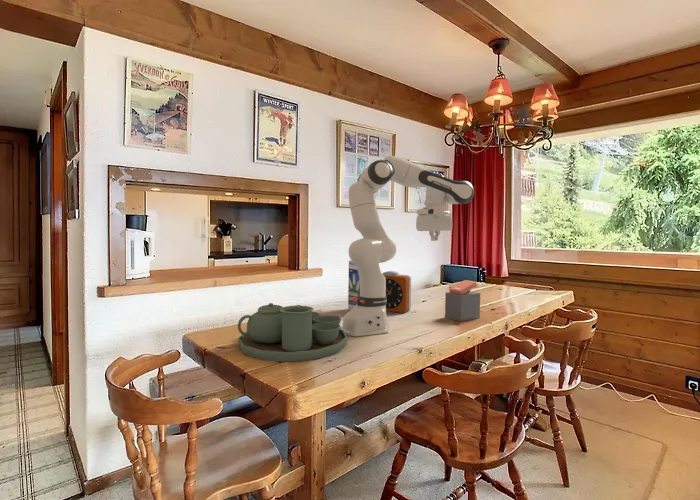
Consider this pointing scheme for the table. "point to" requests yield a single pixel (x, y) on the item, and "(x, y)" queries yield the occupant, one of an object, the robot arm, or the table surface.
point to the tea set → (290, 334)
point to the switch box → (462, 306)
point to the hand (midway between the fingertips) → (434, 240)
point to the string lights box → (353, 284)
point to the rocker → (463, 287)
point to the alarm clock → (398, 292)
